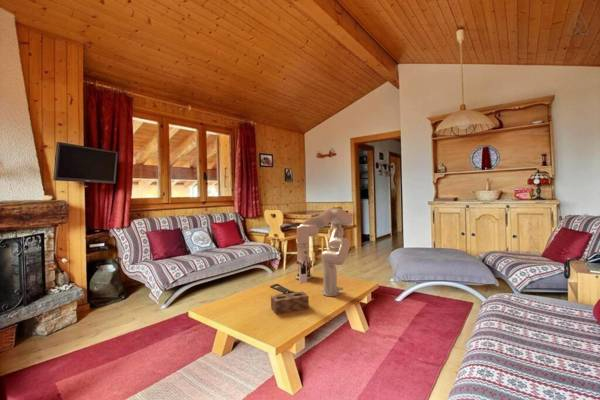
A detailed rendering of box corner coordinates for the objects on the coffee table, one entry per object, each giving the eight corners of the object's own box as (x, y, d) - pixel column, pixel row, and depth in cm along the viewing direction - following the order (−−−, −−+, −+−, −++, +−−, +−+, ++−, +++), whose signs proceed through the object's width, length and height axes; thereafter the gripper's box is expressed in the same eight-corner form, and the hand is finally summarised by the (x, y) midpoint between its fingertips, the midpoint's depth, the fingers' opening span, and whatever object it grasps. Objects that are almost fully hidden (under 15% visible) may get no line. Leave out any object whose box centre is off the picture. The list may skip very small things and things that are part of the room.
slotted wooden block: (303, 303, 203) (302, 291, 202) (308, 308, 193) (308, 296, 193) (271, 308, 195) (270, 296, 194) (275, 314, 185) (275, 301, 185)
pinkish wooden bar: (305, 282, 198) (305, 263, 198) (306, 282, 196) (306, 264, 196) (299, 282, 196) (299, 264, 196) (300, 283, 194) (300, 265, 194)
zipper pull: (277, 283, 227) (302, 289, 210) (277, 291, 227) (302, 299, 211) (268, 286, 220) (293, 293, 204) (268, 295, 220) (294, 302, 204)
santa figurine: (306, 274, 273) (305, 246, 272) (317, 277, 262) (316, 248, 261) (291, 278, 262) (290, 249, 261) (302, 281, 251) (301, 251, 250)
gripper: (313, 246, 190) (313, 275, 190) (303, 242, 205) (303, 270, 205) (301, 247, 187) (302, 277, 187) (292, 243, 202) (293, 271, 202)
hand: (302, 273), depth 196 cm, fingers closed on pinkish wooden bar, 1 cm apart
